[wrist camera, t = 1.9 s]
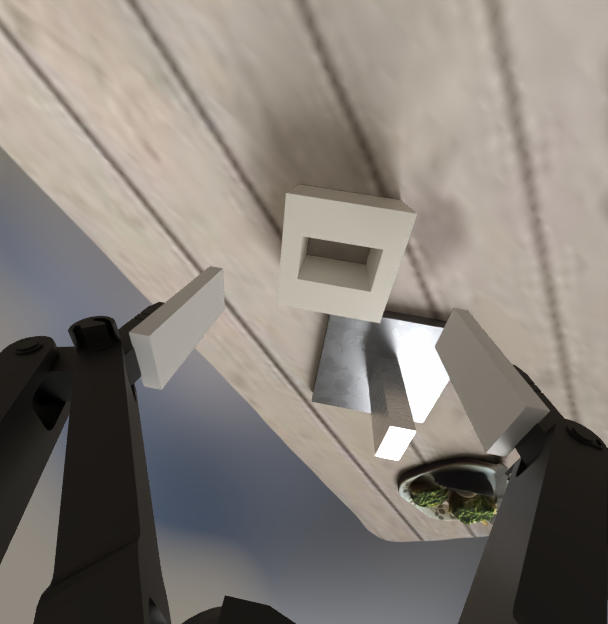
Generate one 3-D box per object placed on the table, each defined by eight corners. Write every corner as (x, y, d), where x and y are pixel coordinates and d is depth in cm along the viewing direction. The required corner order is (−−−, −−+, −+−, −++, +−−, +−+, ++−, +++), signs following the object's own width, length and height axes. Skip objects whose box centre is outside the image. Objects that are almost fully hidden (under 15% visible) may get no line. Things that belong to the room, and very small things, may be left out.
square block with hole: (299, 184, 23) (285, 193, 18) (401, 200, 22) (417, 213, 17) (289, 276, 28) (276, 304, 23) (373, 291, 27) (379, 323, 22)
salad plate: (543, 502, 43) (562, 537, 39) (440, 521, 51) (448, 551, 47) (489, 442, 37) (506, 475, 33) (383, 473, 45) (386, 503, 41)
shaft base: (332, 301, 28) (326, 368, 20) (470, 325, 28) (529, 406, 19) (312, 392, 36) (302, 469, 28) (419, 413, 36) (444, 499, 27)
